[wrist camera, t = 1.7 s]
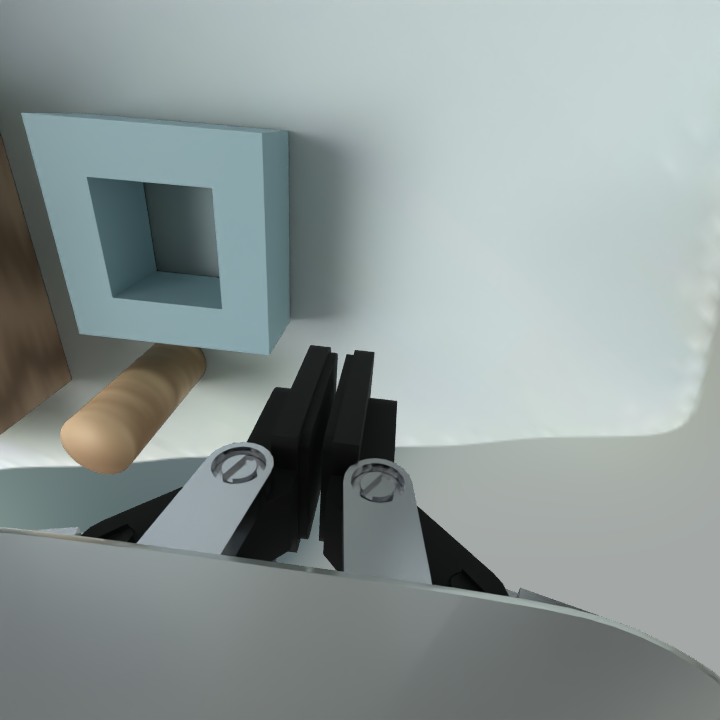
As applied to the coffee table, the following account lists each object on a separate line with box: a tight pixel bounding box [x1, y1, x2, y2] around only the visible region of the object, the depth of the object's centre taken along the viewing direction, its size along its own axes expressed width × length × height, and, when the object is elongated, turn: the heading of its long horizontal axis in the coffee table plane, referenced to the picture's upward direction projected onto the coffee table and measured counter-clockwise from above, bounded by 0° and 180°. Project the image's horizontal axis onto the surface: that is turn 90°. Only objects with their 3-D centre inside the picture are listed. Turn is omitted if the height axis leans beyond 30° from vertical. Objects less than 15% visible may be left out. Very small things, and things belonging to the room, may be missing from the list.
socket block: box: [21, 113, 290, 355], centre depth 25 cm, size 12×12×5 cm
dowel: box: [60, 343, 206, 474], centre depth 28 cm, size 4×4×10 cm
